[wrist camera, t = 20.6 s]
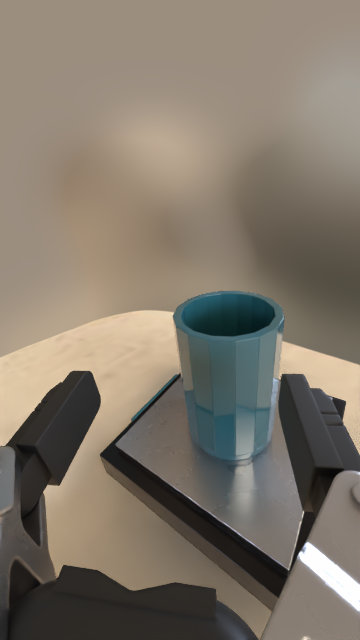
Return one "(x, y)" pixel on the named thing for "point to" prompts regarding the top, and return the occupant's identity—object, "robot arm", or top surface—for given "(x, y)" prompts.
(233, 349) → the cup
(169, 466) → the scale
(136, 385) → the top surface
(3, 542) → the robot arm
